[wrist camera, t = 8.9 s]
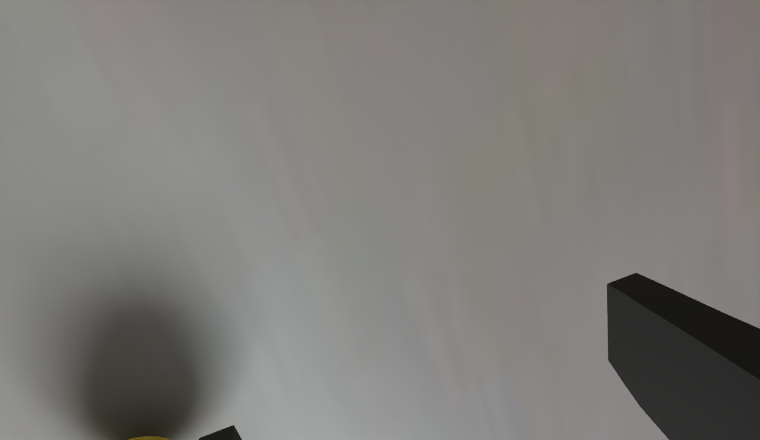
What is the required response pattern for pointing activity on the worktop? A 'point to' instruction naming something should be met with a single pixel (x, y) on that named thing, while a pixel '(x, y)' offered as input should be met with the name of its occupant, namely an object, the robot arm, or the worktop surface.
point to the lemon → (149, 438)
